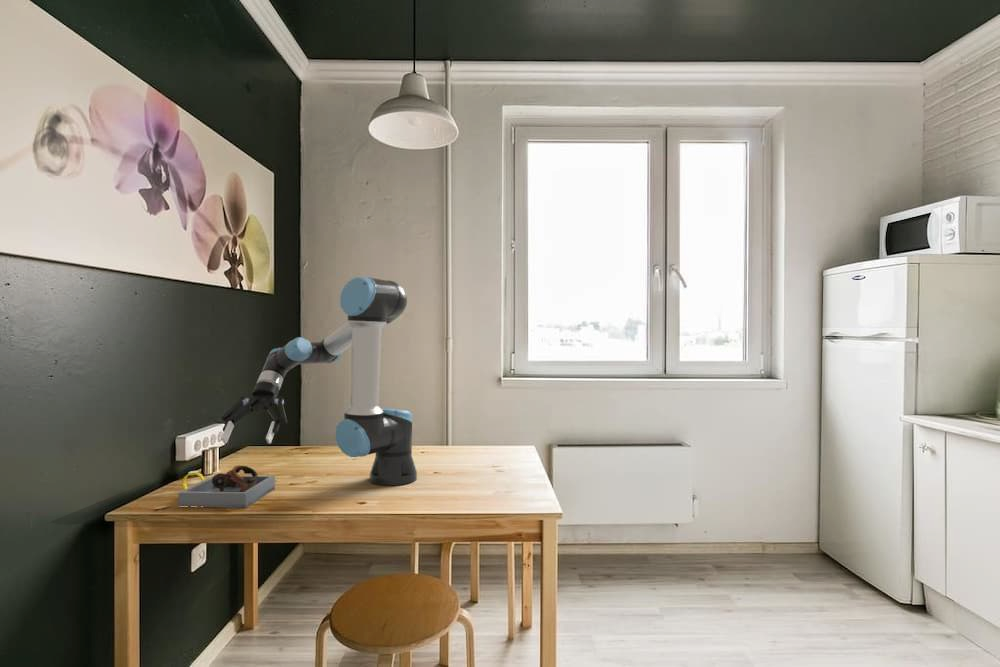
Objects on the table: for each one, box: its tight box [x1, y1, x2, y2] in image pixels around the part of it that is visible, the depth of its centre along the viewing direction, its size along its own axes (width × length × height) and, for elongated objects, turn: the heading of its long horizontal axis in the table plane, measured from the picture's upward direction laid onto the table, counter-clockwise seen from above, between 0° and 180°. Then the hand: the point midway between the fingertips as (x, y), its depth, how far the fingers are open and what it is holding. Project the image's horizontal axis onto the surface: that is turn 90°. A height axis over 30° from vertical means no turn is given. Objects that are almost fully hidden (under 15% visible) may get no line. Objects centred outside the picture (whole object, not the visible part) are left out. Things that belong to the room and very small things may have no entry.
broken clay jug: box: [212, 465, 258, 492], centre depth 158 cm, size 12×10×8 cm
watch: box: [182, 470, 206, 490], centre depth 162 cm, size 6×3×6 cm, turn 93°
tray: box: [177, 475, 276, 509], centre depth 156 cm, size 18×18×4 cm
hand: (245, 441), depth 165 cm, fingers open, 13 cm apart
